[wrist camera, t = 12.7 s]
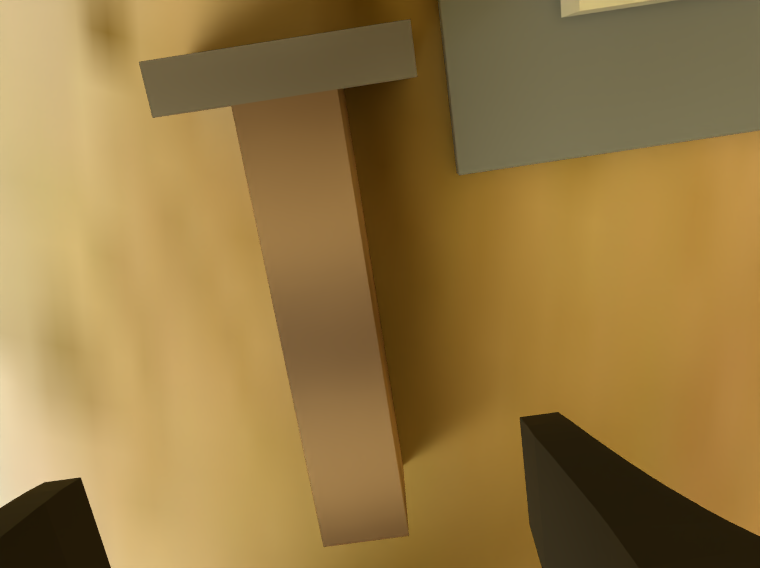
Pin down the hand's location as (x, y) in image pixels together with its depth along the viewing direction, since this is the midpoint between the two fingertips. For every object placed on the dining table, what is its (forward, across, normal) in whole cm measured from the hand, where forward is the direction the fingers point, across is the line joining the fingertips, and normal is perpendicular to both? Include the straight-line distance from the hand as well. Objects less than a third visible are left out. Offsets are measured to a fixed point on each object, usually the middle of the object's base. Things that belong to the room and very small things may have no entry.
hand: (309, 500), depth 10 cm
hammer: (+10, 0, -1) cm, 10 cm away
